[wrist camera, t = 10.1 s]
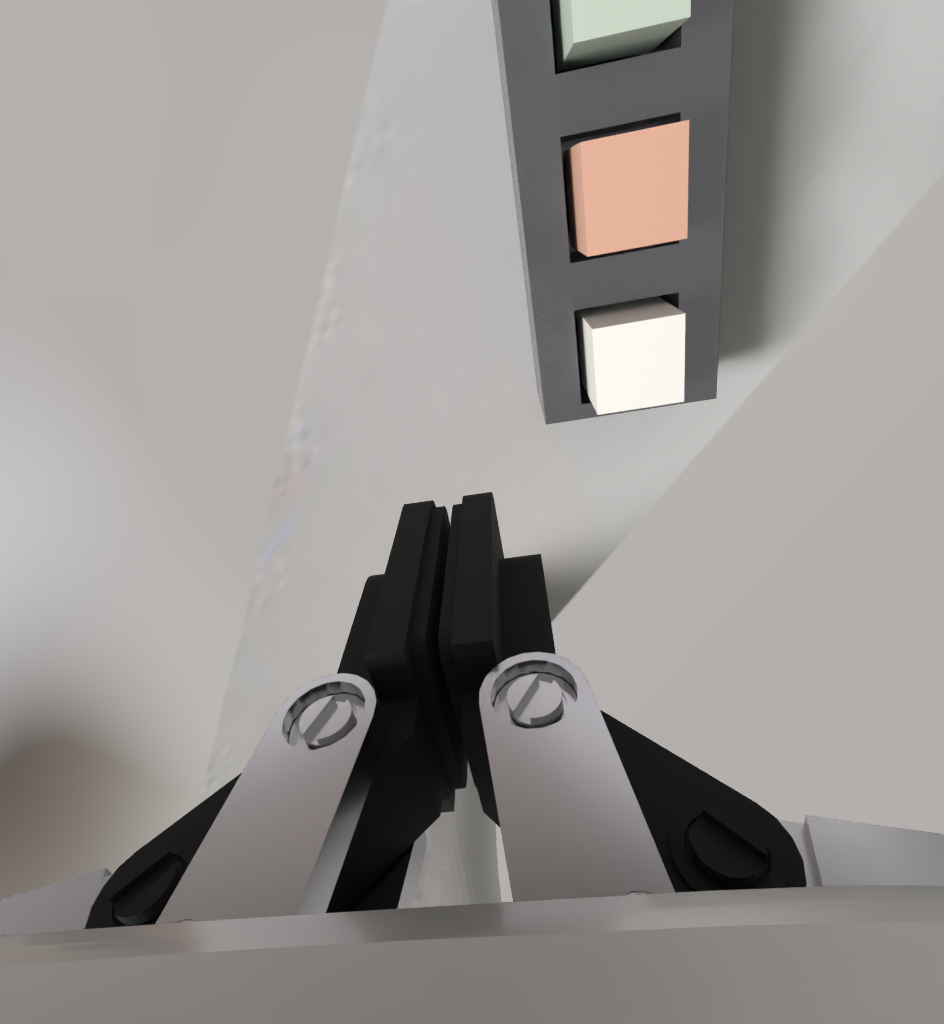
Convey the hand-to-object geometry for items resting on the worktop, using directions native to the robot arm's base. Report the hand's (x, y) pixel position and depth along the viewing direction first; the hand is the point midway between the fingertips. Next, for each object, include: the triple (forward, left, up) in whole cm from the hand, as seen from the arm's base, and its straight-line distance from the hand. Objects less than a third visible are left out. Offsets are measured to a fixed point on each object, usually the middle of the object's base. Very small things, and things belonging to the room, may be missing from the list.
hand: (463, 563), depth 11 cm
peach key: (+5, -8, -26) cm, 28 cm away
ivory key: (-3, -8, -26) cm, 28 cm away
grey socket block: (+5, -8, -29) cm, 31 cm away
